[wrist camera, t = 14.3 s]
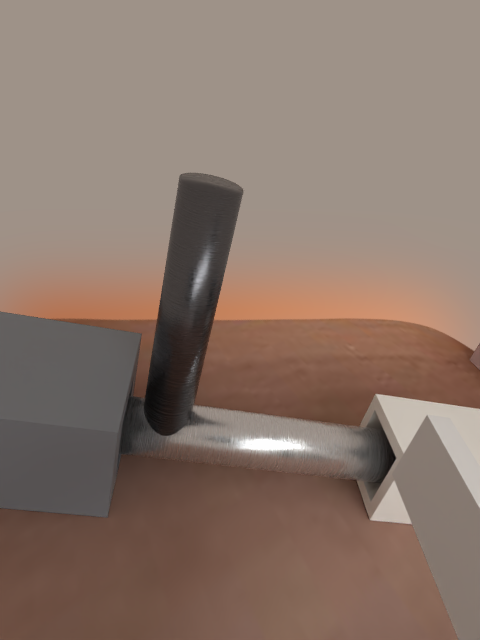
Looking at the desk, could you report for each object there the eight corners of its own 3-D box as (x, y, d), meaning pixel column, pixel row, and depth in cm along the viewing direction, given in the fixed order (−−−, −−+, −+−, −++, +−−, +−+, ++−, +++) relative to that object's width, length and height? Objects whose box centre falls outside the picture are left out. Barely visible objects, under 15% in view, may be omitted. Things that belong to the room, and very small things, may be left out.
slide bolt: (416, 459, 34) (549, 248, 25) (436, 500, 31) (595, 275, 22) (66, 416, 30) (76, 144, 21) (50, 459, 27) (53, 161, 18)
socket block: (131, 409, 34) (141, 333, 30) (107, 517, 26) (117, 432, 22) (-10, 391, 32) (-17, 309, 28) (-80, 500, 24) (-101, 406, 21)
